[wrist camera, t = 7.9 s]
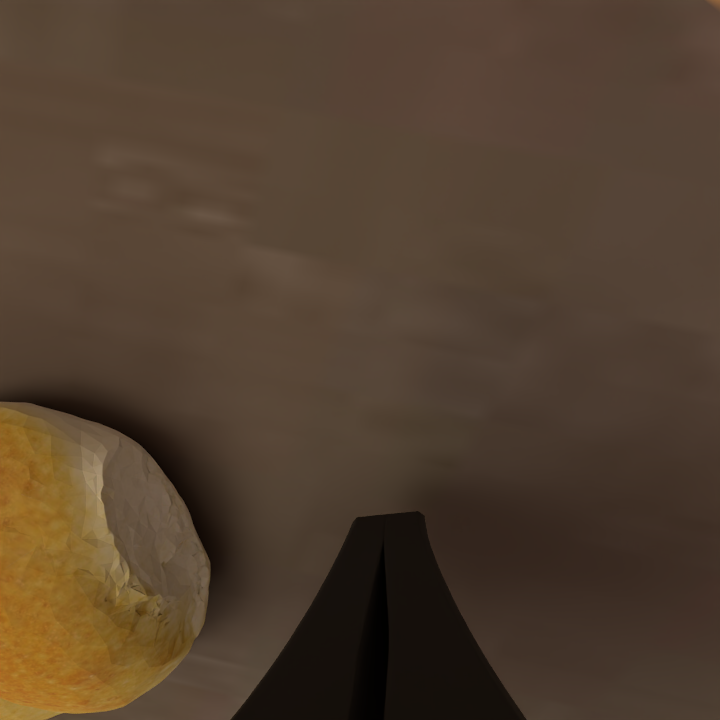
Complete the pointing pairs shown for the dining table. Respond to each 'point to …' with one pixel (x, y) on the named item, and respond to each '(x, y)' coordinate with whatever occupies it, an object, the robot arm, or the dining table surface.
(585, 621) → the dining table surface
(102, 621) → the bread roll
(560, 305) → the dining table surface
